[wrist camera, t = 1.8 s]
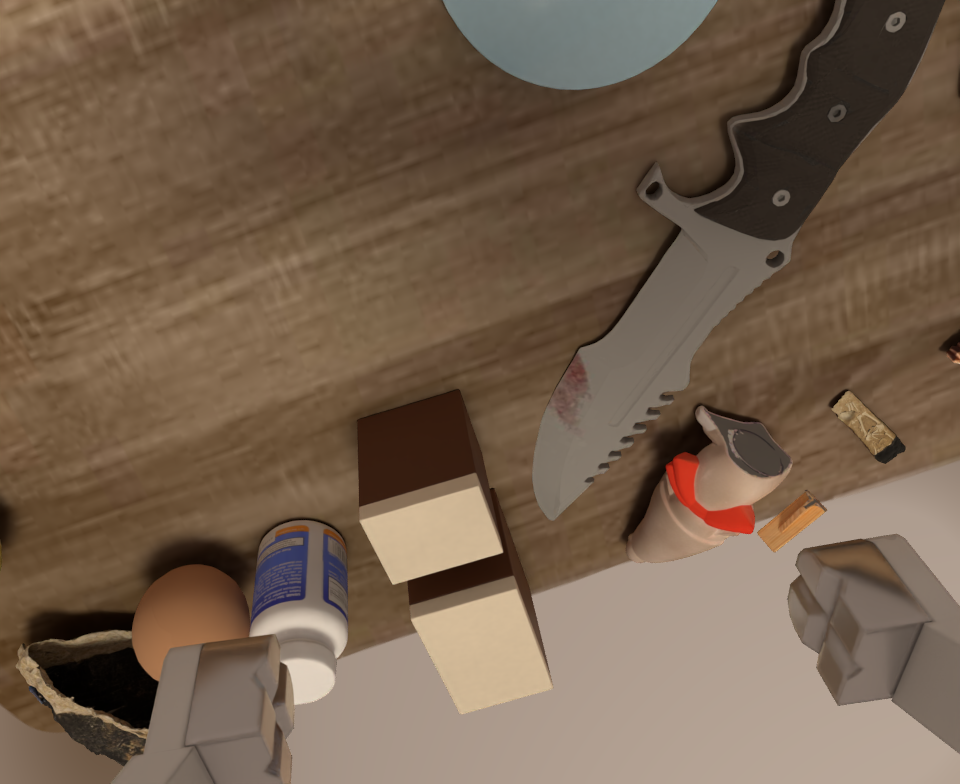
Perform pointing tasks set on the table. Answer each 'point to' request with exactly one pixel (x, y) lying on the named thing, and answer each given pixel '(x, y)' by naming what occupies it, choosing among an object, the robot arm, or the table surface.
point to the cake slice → (425, 489)
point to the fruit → (0, 556)
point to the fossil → (868, 428)
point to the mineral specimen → (94, 690)
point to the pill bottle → (303, 602)
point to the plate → (577, 36)
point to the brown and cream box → (482, 627)
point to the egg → (187, 613)
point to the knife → (729, 237)
